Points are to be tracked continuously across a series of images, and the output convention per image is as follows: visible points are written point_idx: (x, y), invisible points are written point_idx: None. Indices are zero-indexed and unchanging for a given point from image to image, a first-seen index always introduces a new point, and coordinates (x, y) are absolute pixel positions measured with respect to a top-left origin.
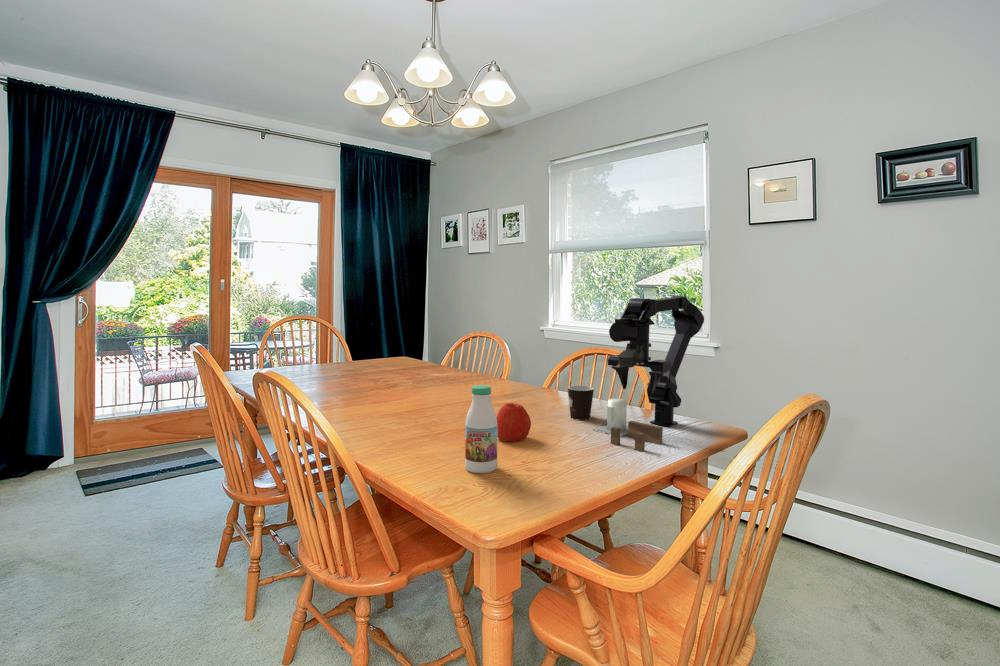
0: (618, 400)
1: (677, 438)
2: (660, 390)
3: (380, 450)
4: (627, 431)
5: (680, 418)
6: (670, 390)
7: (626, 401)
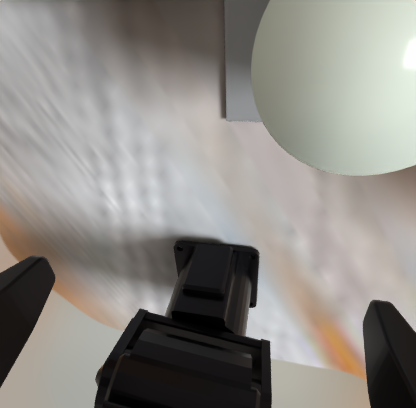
0: (360, 80)
1: (50, 125)
2: (144, 388)
3: None
4: (256, 32)
5: None
6: (97, 395)
7: (256, 106)
